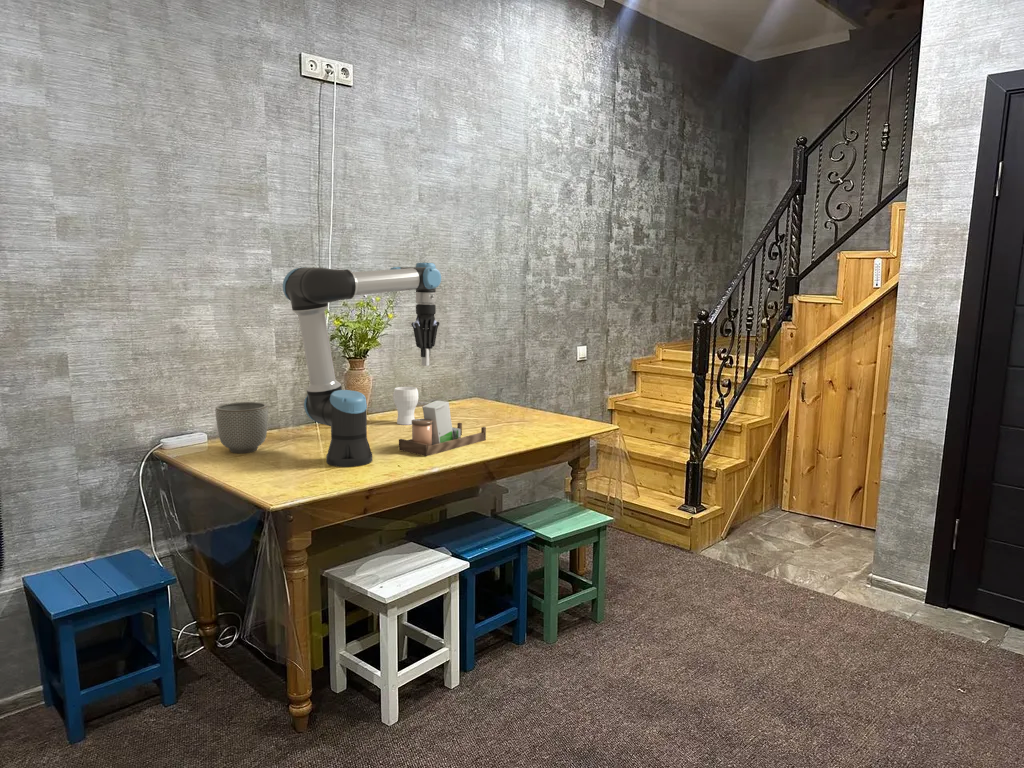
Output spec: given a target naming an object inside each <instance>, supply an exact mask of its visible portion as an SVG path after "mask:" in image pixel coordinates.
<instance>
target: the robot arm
mask: <svg viewBox="0 0 1024 768" xmlns="http://www.w3.org/2000/svg"><path fill="white" fill-rule="evenodd" d="M436 267H437V266H436V263H433V262H417V263H416V264H415V267H412V266H406V267H404V266H393V267H390V269H382V270H381V269H380V270H366V271H365V270H363V271H353V272H352V271H351V270H350V269H336V268H326V267H325V268H324V267H306V266H305V267H304V266H302V267H297V268H293V269H291V270H290V271H288V272H287V273H286V275H285V277H284V278H283V281H282V292H283V294H284V296H285V297H286V298H287V299H288V301H290V305H291V308H292V309H291V310H292V312H294V314H296V315H297V317H298V323H299V328H300V332H301V338H302V344H303V349H304V356H305V361H306V367H307V373H308V379H309V382H310V383H309V385H308V386H307V387H306V393H307V394H306V397H305V398H304V402H303V408H304V411H305V413H306V416H307V417H308V418H309V419H310V420H312V421H314V422H315V423H318V424H321V425H325V426H327V427H330V437H331V439H330V441H329V442H330V444H329V447H328V451H327V453H326V456H325V460H326V461H325V462H326V464H328V465H330V466H332V467H333V466H334V467H339V468H340V467H342V468H345V467H346V468H347V467H348V468H349V467H350V468H351V467H359V466H364V465H367V464H370V463H372V462H373V452H372V450H371V446H370V444H369V443H370V442H369V440H368V438H367V437H368V436H367V435H368V434H367V433H368V431H367V430H368V429H367V427H368V424H367V421H368V420H367V417H368V416H367V412H368V411H367V408H368V405H367V398H366V395H365V394H363V393H362V392H360V391H357V390H350V389H343V388H342V384H341V382H340V381H338V380H337V379H336V373H335V367H334V361H333V355H332V350H331V343H330V338H329V332H328V327H327V319H326V314H325V311H326V310H327V308H328V307H329V303H333V302H339V301H344V300H351V299H353V298H355V296H362V295H372V294H382V293H392V292H402V291H411V290H412V291H413V290H415V303H416V304H415V314H416V318H415V319H416V320H415V321H414V322H411V327H412V329H413V334H414V340H415V344H416V348H418V349H419V350H420V357H421V366H425V367H430V357H431V350H432V349H433V347H435V346H436V339H437V334H438V328H439V327H440V321H437V320H436V318H435V315H436V311H437V310H436V301H437V300H436V299H437V298H436V297H437V296H436V295H437V294H436V293H437V288H438V287H440V286H441V285H440V284H441V283H442V274H441V271H440V270H439V269H437V268H436Z"/></svg>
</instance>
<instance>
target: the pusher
mask: <svg viewBox="0 0 1024 768" xmlns="http://www.w3.org/2000/svg"><path fill="white" fill-rule="evenodd" d="M452 430H453V437H454V439H458V438H462V436H461V429H459V428H457V427H453V426H452Z"/></svg>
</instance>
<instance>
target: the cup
mask: <svg viewBox="0 0 1024 768" xmlns="http://www.w3.org/2000/svg"><path fill="white" fill-rule="evenodd" d="M392 398H393V399H392V400H393V403H394V406H395V407H396V409H397V410H396V411H397V420H396V424H397V425H401V426H402V425H403V426H404V425H406V426H408V425H412V420H414V419H416V418H415V409H416V407H417V405H418V402H419V390H418V387H416V386H398V387H394V389H393V394H392Z"/></svg>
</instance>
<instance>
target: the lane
mask: <svg viewBox="0 0 1024 768" xmlns="http://www.w3.org/2000/svg"><path fill="white" fill-rule="evenodd" d="M456 425H457V427H456V428H459V429H461V435H462V433H463V432H462V431H463V422H457V424H456ZM486 435H487V427H486V426H482V427H481V432H479V433H474V434H470V435H465V436H463V435H462V436H461V438H458V439H454V440H450V441H446V442H442V443H438V444H435V445H431V446H428V444H424V443H419V442H414V441H412V438H409V439H405V438H399V439H398V451H400V452H405V453H409V454H413V455H414V454H415V455H419V456H423V457H428V456H432V455H436V454H439V453H443V452H447V451H451V450H454V449H457V448H462V447H465V446H468V445H473V444H477V443H479V442H483V441H486V440H487V436H486Z"/></svg>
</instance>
